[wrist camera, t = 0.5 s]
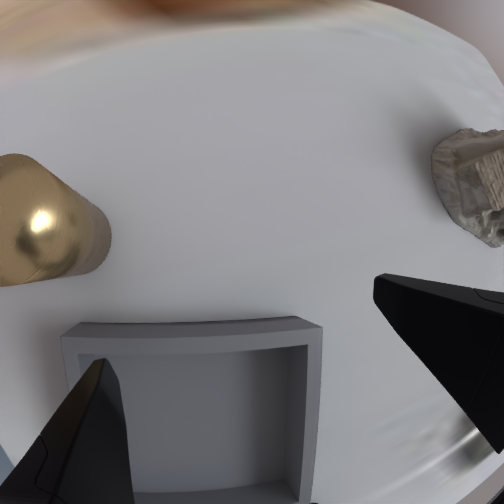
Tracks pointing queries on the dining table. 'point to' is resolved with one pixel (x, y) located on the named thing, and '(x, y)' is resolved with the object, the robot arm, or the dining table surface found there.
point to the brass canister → (46, 225)
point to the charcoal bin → (212, 405)
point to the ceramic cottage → (473, 182)
